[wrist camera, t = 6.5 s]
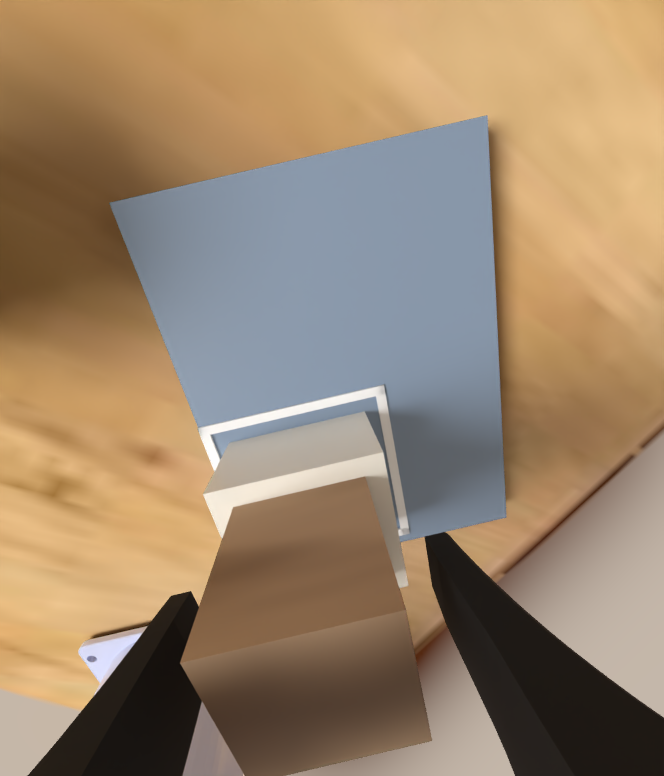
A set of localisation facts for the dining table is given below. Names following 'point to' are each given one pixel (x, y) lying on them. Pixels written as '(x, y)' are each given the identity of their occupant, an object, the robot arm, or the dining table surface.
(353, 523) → the walnut block
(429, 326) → the board
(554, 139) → the dining table surface
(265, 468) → the cream base block
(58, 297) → the dining table surface
